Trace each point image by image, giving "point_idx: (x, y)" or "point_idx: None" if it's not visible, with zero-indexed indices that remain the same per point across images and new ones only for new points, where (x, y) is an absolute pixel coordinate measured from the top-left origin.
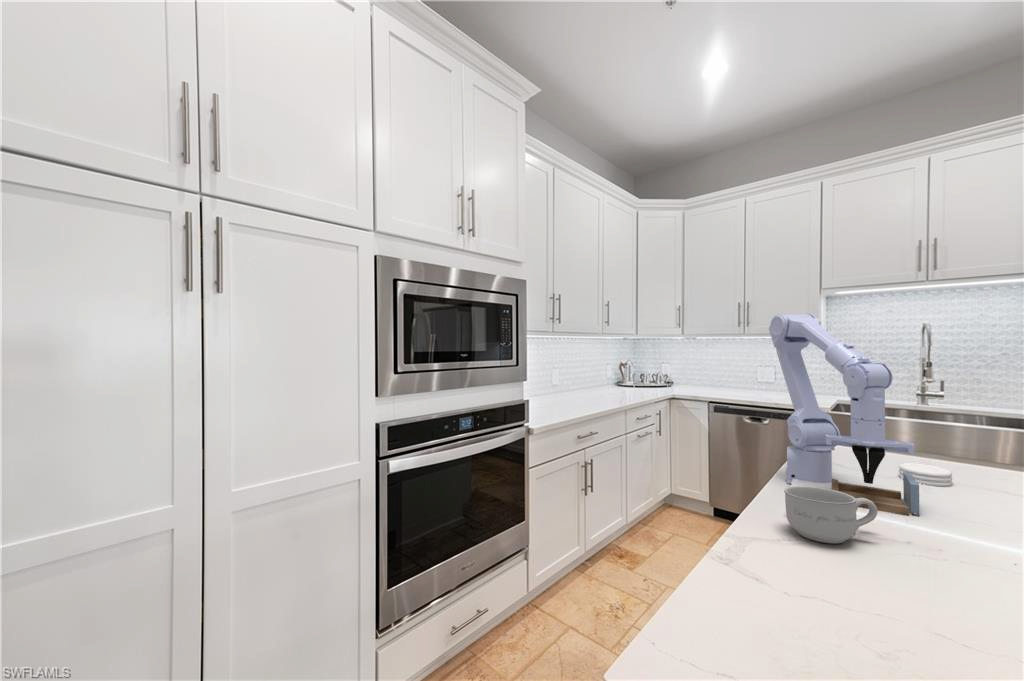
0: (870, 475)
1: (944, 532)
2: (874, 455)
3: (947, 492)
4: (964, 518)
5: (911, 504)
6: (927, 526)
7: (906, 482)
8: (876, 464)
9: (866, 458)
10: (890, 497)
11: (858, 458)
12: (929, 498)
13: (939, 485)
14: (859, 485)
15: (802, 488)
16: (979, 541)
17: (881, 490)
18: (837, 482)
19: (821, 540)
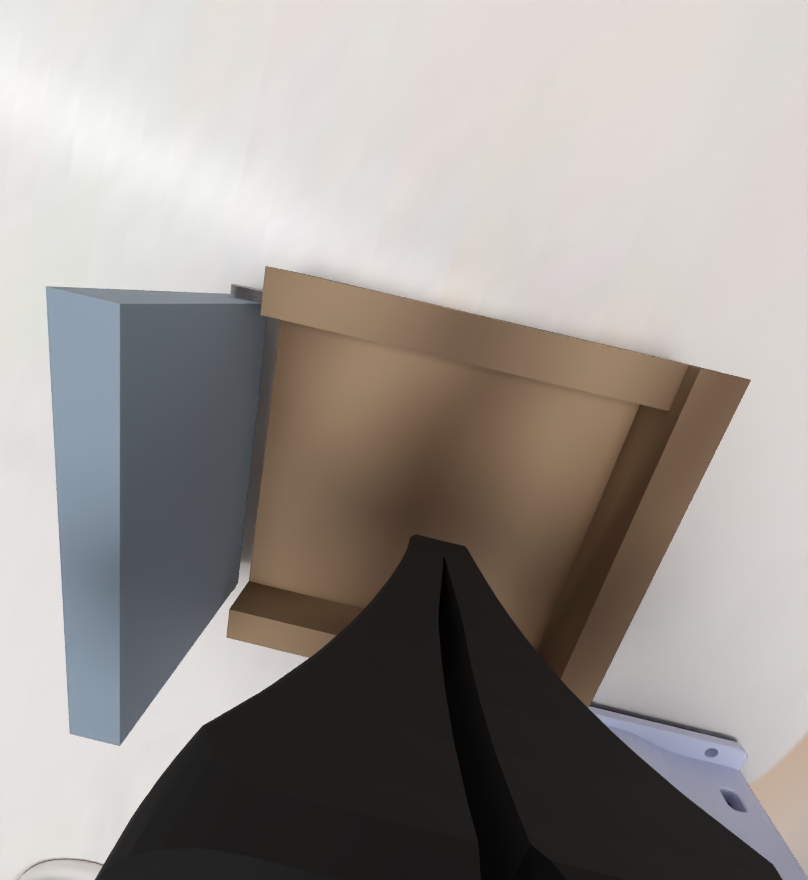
0: (430, 571)
1: (162, 194)
2: (378, 785)
3: (47, 802)
4: (39, 489)
5: (233, 305)
6: (222, 269)
7: (155, 559)
8: (360, 647)
9: (507, 744)
10: (293, 594)
11: (628, 756)
12: None
13: (57, 864)
14: None
15: None
16: (29, 110)
17: (324, 628)
18: (570, 668)
19: None
